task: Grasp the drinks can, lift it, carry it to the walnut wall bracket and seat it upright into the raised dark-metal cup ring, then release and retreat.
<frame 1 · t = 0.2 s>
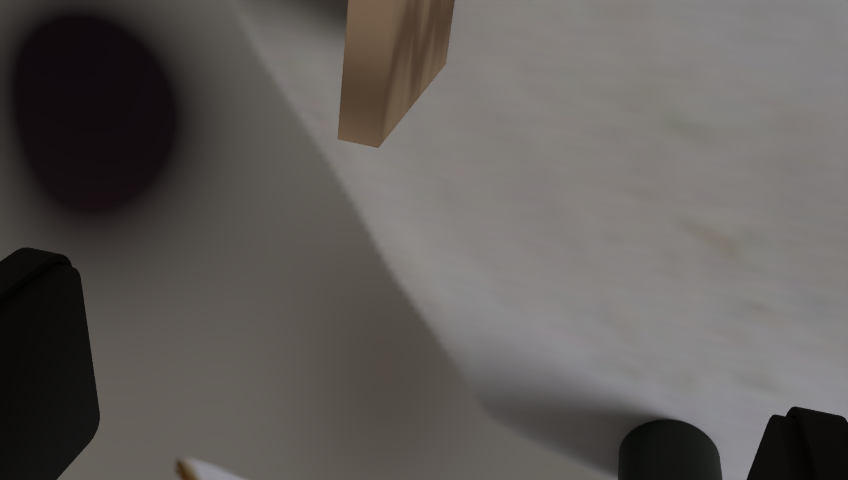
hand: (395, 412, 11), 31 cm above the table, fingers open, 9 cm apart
wine bottle: (668, 455, 48), on the table
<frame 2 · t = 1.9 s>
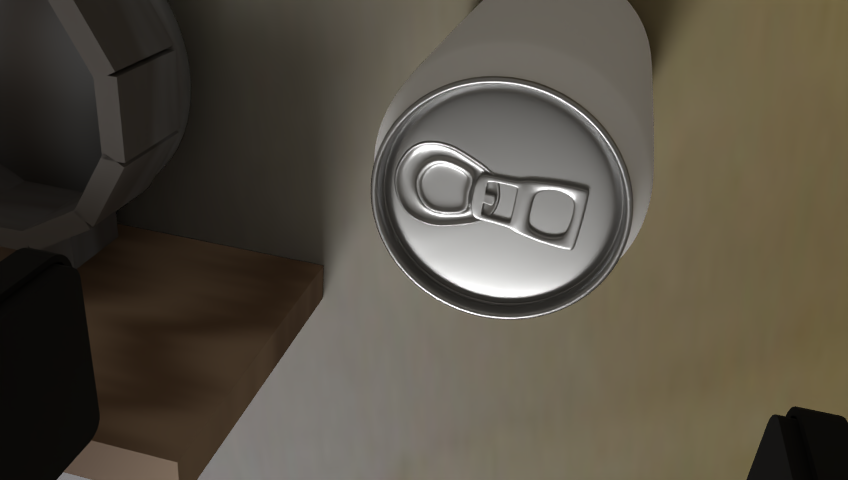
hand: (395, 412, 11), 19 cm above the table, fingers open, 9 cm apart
bracket: (86, 46, 31), on the table
can: (553, 63, 28), on the table
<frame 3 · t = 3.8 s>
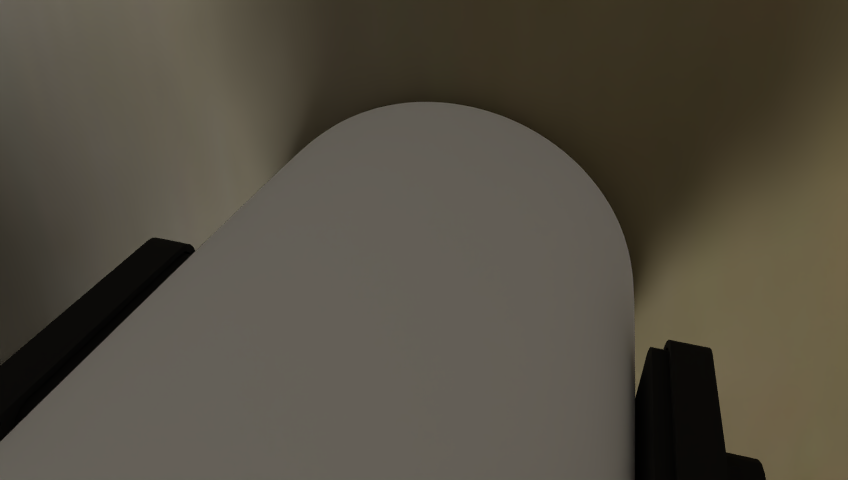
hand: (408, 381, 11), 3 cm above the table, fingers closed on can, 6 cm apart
can: (446, 266, 14), on the table, touching gripper
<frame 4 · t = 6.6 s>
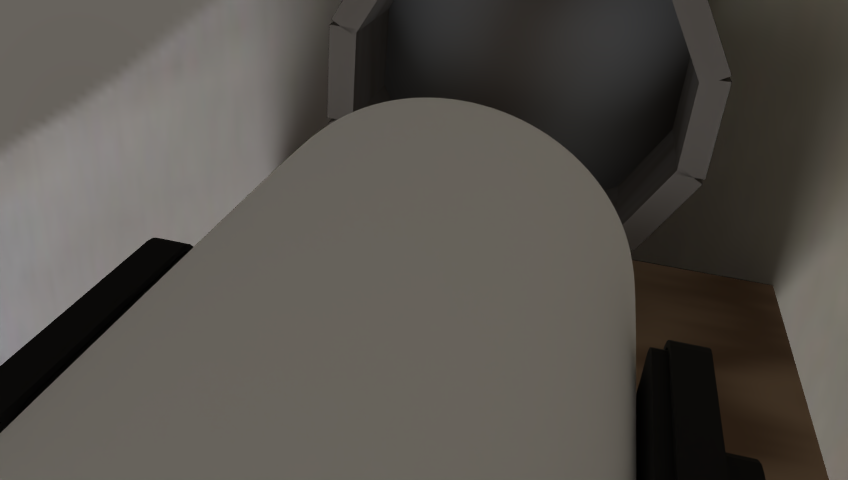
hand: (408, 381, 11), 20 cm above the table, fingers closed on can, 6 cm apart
bracket: (539, 45, 28), on the table
can: (446, 263, 14), point 16 cm above the table, touching gripper
when the fingers open (7 cm above the table, at t = 9.7 s): can drops 1 cm, resting on bracket.
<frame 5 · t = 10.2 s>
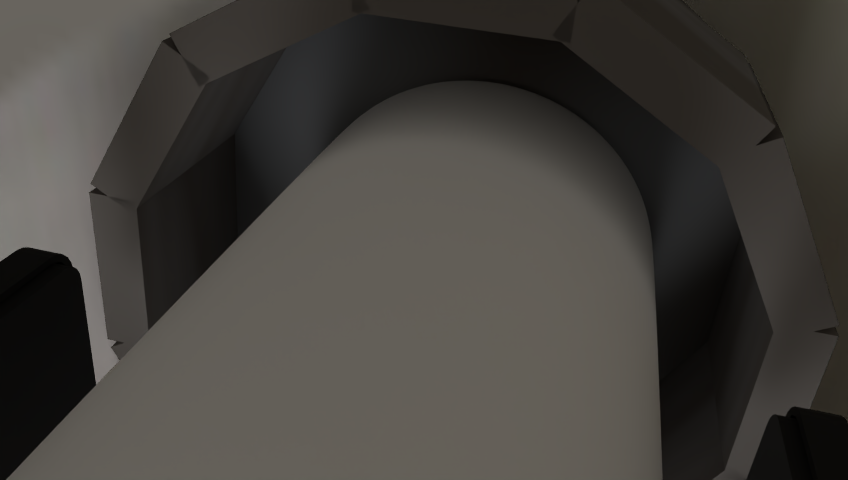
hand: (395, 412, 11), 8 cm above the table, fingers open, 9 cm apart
bracket: (493, 176, 18), on the table
can: (478, 234, 15), point 3 cm above the table, touching bracket
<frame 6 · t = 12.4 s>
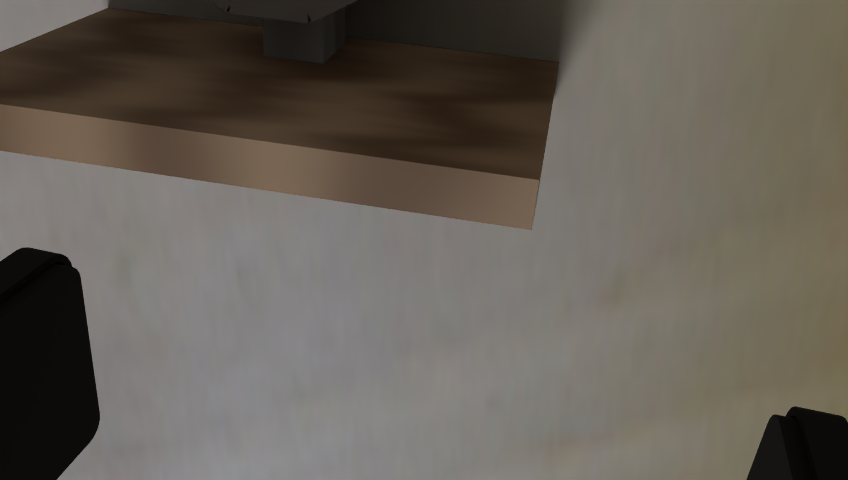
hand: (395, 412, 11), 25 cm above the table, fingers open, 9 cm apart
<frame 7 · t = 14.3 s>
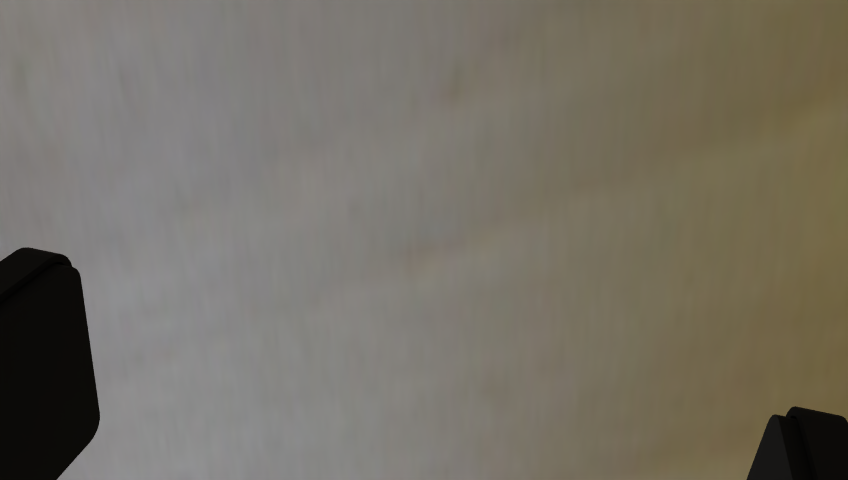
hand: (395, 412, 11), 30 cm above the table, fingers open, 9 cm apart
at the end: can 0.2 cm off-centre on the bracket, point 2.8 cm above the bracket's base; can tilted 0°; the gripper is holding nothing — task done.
